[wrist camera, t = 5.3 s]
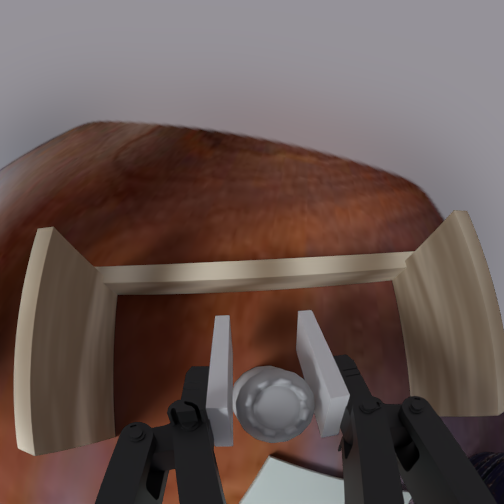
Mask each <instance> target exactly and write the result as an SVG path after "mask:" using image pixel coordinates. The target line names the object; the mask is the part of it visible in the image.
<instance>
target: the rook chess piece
mask: <svg viewBox="0 0 504 504" xmlns="http://www.w3.org/2000/svg"><path fill="white" fill-rule="evenodd" d="M314 410H315V402H314V394H313V392H312V390H311V389H310V387H309V385H308V383H307V382H306V381H305V380H304V379H302V378H301V377H300V376H298V375H297V374H296V373H294V372H290V371H286V370H284V369H281V368H277V367H274V366H259V367H255V368H253V369H251V370H249V371H247V372H245V373H243V374H242V375H241V377H240V378H239V379H238V380H237V381H236V382H235V384H234V387H233V412H234V413H235V415H236V417H237V419H238V421H239V422H240V424H241V425H242V427H243V429H244V430H245V431H246V432H247V433H249V434H250V435H251V436H253V437H254V438H256V439H258V440H262V441H265V442H269V443H276V442H284V441H288V440H290V439H292V438H294V437H296V436H298V435H300V434H301V433H302V432H303V431H304V430H305V428H306V427H307V426H308V425H309V424H310V422H311V420H312V417H313V414H314Z"/></svg>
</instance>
